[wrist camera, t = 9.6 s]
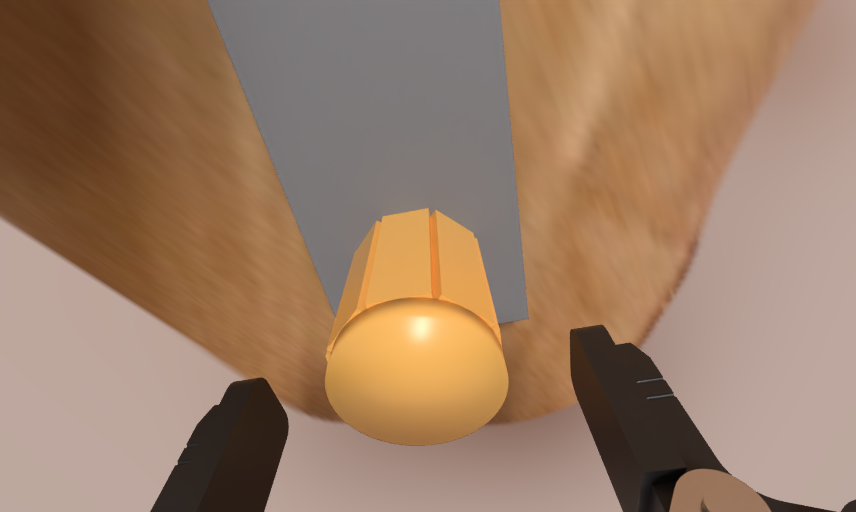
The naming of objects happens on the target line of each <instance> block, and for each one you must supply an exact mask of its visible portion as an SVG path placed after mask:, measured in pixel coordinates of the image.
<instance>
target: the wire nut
mask: <svg viewBox="0 0 856 512" xmlns="http://www.w3.org/2000/svg"><path fill="white" fill-rule="evenodd" d="M326 350H327V354H326V360H327V362H328V366H327V370H326V374H325V389H326V394H327V397H328V399H329V402H330V404H331V405H332V407H333V409H334V410H335V412H336V413H337V414H338V415H339V416H340V417H341V418H342V419H343V420H344V421H345V422H346V423H347V424H348V425H350V426H351V427H353V428H354V429H356V430H357V431H359V432H361V433H363V434H365V435H367V436H369V437H372V438H374V439H377V440H381V441H384V442H388V443H393V444H399V445H410V446H424V445H435V444H440V443H445V442H449V441H453V440H456V439H459V438H462V437H464V436H466V435H468V434H471V433H473V432H474V431H476V430H478V429H479V428H481V427H482V426H484V425H485V424H486V423H487V422H489V421H490V420H491V419H492V418H493V417H494V416H495V415H496V413H497V412H498V411H499V409H500V408H501V406H502V404H503V402H504V401H505V398H506V395H507V391H508V385H509V383H508V373H507V368H506V364H505V360H504V356H503V351H502V343H501V336H500V329H499V325H498V321H497V317H496V313H495V309H494V305H493V301H492V297H491V293H490V289H489V285H488V281H487V277H486V273H485V269H484V265H483V261H482V257H481V253H480V249H479V245H478V241H477V238H474V234H473V232H471V231H470V230H468V229H466V228H465V227H463V226H462V225H460V224H458V223H457V222H455V221H453V220H452V219H450V218H449V217H447V216H445V215H444V214H442V213H441V212H439V211H437V210H435V211H434V213H433V214H432V215H431V217H430V213H429V208H427V209H421V210H416V211H410V212H405V213H399V214H394V215H388V216H383V217H382V222H379V221H376V222H375V224H374V225H373V226H372V228H371V229H370V231H369V232H368V234H367V235H366V237H365V238H364V240H363V241H362V243H361V244H360V246H359V247H358V249H357V250H356V252H355V253H354V256H353V259H352V263H351V266H350V270H349V273H348V277H347V280H346V284H345V287H344V290H343V294H342V297H341V301H340V304H339V308H338V311H337V315H336V318H335V322H334V325H333V328H332V332H331V335H330V339H329V342H328V346H327V349H326Z"/></svg>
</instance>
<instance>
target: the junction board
mask: <svg viewBox="0 0 856 512" xmlns="http://www.w3.org/2000/svg"><path fill="white" fill-rule="evenodd" d="M207 2H208V4H209V7H210V9H211V12H212V14H213V17H214V19H215V22H216V24H217V27H218V29H219V32H220V34H221V37H222V39H223V41H224V44H225V46H226V49H227V51H228V54H229V56H230V59H231V61H232V64H233V66H234V69H235V71H236V74H237V76H238V78H239V81H240V83H241V86H242V88H243V91H244V93H245V96H246V98H247V101H248V103H249V106H250V108H251V111H252V113H253V115H254V118H255V120H256V123H257V125H258V128H259V130H260V133H261V135H262V138H263V140H264V143H265V145H266V148H267V150H268V152H269V155H270V157H271V160H272V162H273V165H274V167H275V170H276V172H277V175H278V177H279V180H280V182H281V185H282V187H283V190H284V192H285V194H286V197H287V199H288V202H289V204H290V207H291V209H292V212H293V214H294V217H295V219H296V222H297V224H298V227H299V229H300V231H301V234H302V236H303V239H304V241H305V244H306V246H307V249H308V251H309V254H310V256H311V259H312V261H313V264H314V266H315V268H316V271H317V273H318V276H319V278H320V281H321V283H322V286H323V288H324V291H325V293H326V296H327V298H328V301H329V303H330V305H331V308H332V310H333V313H334V315H335V318H336V315H337V311H338V308H339V304H340V301H341V297H342V294H343V290H344V287H345V284H346V280H347V277H348V273H349V270H350V266H351V263H352V259H353V256H354V253H355V252H356V250H357V249H358V247H359V246H360V244H361V243H362V241H363V240H364V238H365V237H366V235H367V234H368V232H369V231H370V229H371V228H372V226H373V225H374V224H375V222H376V221H379V222H382V217H383V216H388V215H394V214H399V213H405V212H410V211H416V210H421V209H427V208H429V213H430V217H431V215H432V214H433V213H434V211H435V210H437V211H439V212H441V213H442V214H444V215H445V216H447V217H449V218H450V219H452V220H453V221H455V222H457V223H458V224H460V225H462V226H463V227H465V228H466V229H468V230H470V231H471V232H473V234H474V238H477V241H478V245H479V249H480V253H481V257H482V261H483V265H484V269H485V273H486V277H487V281H488V285H489V289H490V293H491V297H492V301H493V305H494V309H495V313H496V317H497V321H498V324H501V323H507V322H513V321H520V320H526V319H529V318H528V307H527V296H526V286H525V275H524V264H523V253H522V242H521V231H520V220H519V209H518V198H517V187H516V176H515V166H514V155H513V144H512V133H511V122H510V111H509V100H508V89H507V78H506V67H505V56H504V45H503V35H502V24H501V13H500V2H499V0H207Z"/></svg>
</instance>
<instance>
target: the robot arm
mask: <svg viewBox="0 0 856 512" xmlns="http://www.w3.org/2000/svg"><path fill="white" fill-rule="evenodd" d="M570 364H571V378H572V383H573V387H574V390H575V394H576V396H577V399H578V401H579V404H580V406H581V409H582V411H583V414H584V416H585V419H586V421H587V424H588V426H589V429H590V431H591V433H592V436H593V438H594V441H595V443H596V446H597V448H598V451H599V453H600V455H601V458H602V461H603V463H604V466H605V468H606V470H607V473H608V475H609V478H610V480H611V483H612V485H613V488H614V490H615V493H616V495H617V498H618V500H619V503H620V505H621V507H622V510H623V512H835V511H829V510H824V509H819V508H814V507H809V506H804V505H798V504H793V503H787V502H783V501H779V500H775V499H772V498H770V497H767V496H764V495H762V494H760V493H758V492H756V491H754V490H753V489H752V488H751V487H749V486H748V485H747V484H745V483H744V482H742V481H740V480H739V479H737V478H736V477H733V476H732V475H731V474H730V473H729V472H728V471H727V470H726V469H725V468H724V467H723V466H722V465H721V463H720V462H719V461H718V459H717V458H716V456H715V455H714V453H713V452H712V450H711V449H710V447H709V446H708V444H707V443H706V441H705V440H704V438H703V437H702V435H701V434H700V432H699V431H698V429H697V428H696V426H695V425H694V423H693V421H692V420H691V418H690V417H689V415H688V414H687V412H686V411H685V409H684V408H683V406H682V405H681V404H680V402H679V400H678V399H677V397H675V396H674V394H673V392H672V390H671V388H670V387H669V385H668V384H667V382H666V381H665V380H663V376H662V375H661V373H660V372H659V370H658V369H657V367H656V366H655V364H654V363H653V361H652V360H651V358H650V357H649V356H647V355H646V354H645V353H644V352H642V351H641V350H640V349H638V348H637V347H636V346H634V345H633V344H632V343H625V344H619V345H615V343H614V342H613V340H612V338H611V336H610V335H609V333H608V331H607V330H606V328H605V327H604V326H603V325H596V326H590V327H583V328H577V329H571V331H570ZM288 428H289V426H288V418H287V414H286V412H285V410H284V409H283V407H282V405H281V404H280V402H279V400H278V399H277V397H276V395H275V393H274V392H273V390H272V388H271V387H270V385H269V383H268V382H267V380H266V379H264V378H255V379H249V380H242V381H236V382H233V383H231V384H230V386H229V387H228V388H227V390H226V392H225V394H224V396H223V398H222V400H221V402H220V404H219V405H215V406H213V407H212V409H211V410H210V411H209V412H208V413H207V414H206V415H205V416H204V417H203V419H202V420H201V421H200V422H199V423H198V424H197V426H196V428H195V430H194V431H193V433H192V435H191V437H190V439H189V441H188V443H187V448H184V450H183V452H182V454H181V456H180V458H179V460H178V465H176V466H175V467H174V469H173V471H172V472H171V474H170V476H169V478H168V480H167V482H166V484H165V485H164V487H163V489H162V491H161V493H160V495H159V497H158V498H157V500H156V502H155V504H154V506H153V508H152V510H151V511H150V512H264V510H265V507H266V504H267V501H268V497H269V494H270V491H271V488H272V484H273V481H274V478H275V475H276V472H277V468H278V465H279V462H280V459H281V455H282V452H283V449H284V446H285V443H286V440H287V436H288ZM841 512H856V500H854V501H851V502H849V503H848V504H846V505H845V506H844V508H843V509H842V511H841Z"/></svg>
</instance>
